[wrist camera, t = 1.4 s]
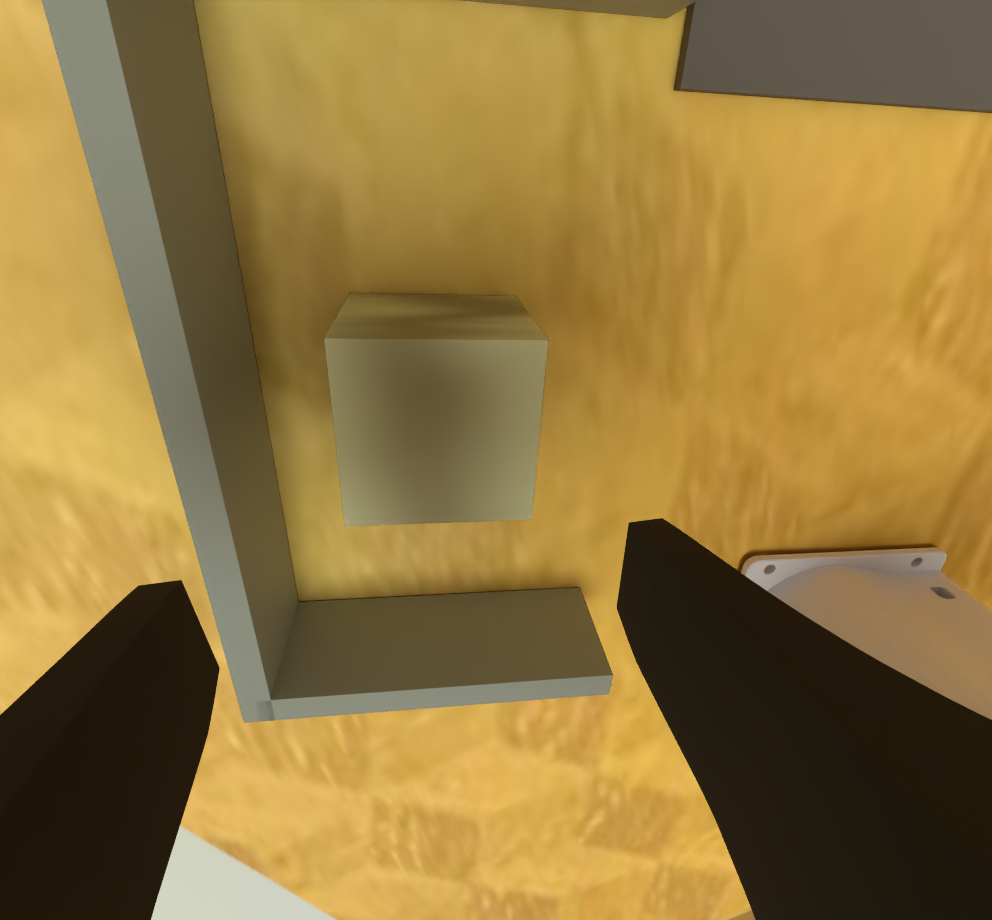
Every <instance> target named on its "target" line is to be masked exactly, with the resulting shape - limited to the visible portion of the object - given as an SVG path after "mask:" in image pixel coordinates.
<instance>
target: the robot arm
mask: <svg viewBox="0 0 992 920" xmlns="http://www.w3.org/2000/svg"><path fill="white" fill-rule="evenodd" d="M946 559H947V554H946V553H945V552H943V551H942V550H941V549H939V548H936V547H933V548H911V549H889V550H867V551H845V552H823V553H802V554H780V555H758V556H753V557H751V558H749V559H748V560H746V561H745V563H744V565H743V568H742V571H741V573H740V572H739V571H737V570H736V569H735V568H733V567H732V566H730V565H729V564H727V563H726V562H725V561H723V560H722V559H720V558H719V557H718V556H716V555H715V554H713V553H712V552H710V551H709V550H708V549H706V548H705V547H703V546H702V545H701V544H699V543H698V542H696V541H695V540H694V539H692V538H691V537H689V536H688V535H686V534H685V533H684V532H682V531H681V530H679V529H678V528H676V527H675V526H673V525H672V524H670V523H669V522H667V521H666V520H664V519H663V518H661V519H653V520H645V521H637V522H630V523H629V526H628V532H627V539H626V546H625V553H624V560H623V567H622V574H621V581H620V588H619V595H618V602H617V610H618V613H619V616H620V619H621V621H622V624H623V627H624V630H625V633H626V636H627V638H628V641H629V644H630V646H631V649H632V652H633V654H634V657H635V659H636V662H637V664H638V666H639V668H640V670H641V672H642V674H643V676H644V678H645V680H646V682H647V684H648V686H649V688H650V690H651V692H652V694H653V696H654V698H655V700H656V702H657V704H658V706H659V708H660V710H661V712H662V714H663V716H664V718H665V720H666V722H667V723H668V725H669V727H670V729H671V731H672V733H673V735H674V737H675V739H676V741H677V743H678V745H679V747H680V749H681V751H682V753H683V755H684V757H685V759H686V760H687V762H688V764H689V766H690V768H691V770H692V772H693V774H694V776H695V778H696V780H697V782H698V784H699V786H700V788H701V790H702V792H703V794H704V796H705V798H706V800H707V803H708V805H709V807H710V809H711V811H712V813H713V815H714V818H715V820H716V822H717V824H718V827H719V829H720V832H721V834H722V837H723V839H724V842H725V844H726V847H727V849H728V851H729V854H730V856H731V859H732V861H733V864H734V866H735V869H736V871H737V874H738V876H739V878H740V881H741V883H742V886H743V888H744V891H745V893H746V896H747V898H748V901H749V904H750V906H751V909H752V911H753V914H754V917H755V919H756V920H992V611H991V610H989V609H988V608H987V607H986V606H984V605H983V604H982V603H981V602H979V601H978V600H977V599H975V598H974V597H973V596H972V595H970V594H969V593H968V592H966V591H965V590H964V589H963V588H961V587H960V586H959V585H957V584H956V583H955V582H954V581H952V580H951V579H950V578H948V577H947V576H946V575H945V574H943V573H942V572H941V571H940V570H941V569H942V567H943V565H944V563H945V561H946ZM768 565H769V566H768ZM765 567H766V568H765ZM218 674H219V666H218V664H217V661H216V659H215V657H214V654H213V652H212V650H211V647H210V645H209V643H208V641H207V638H206V636H205V634H204V631H203V629H202V627H201V624H200V622H199V620H198V617H197V615H196V613H195V611H194V608H193V606H192V604H191V601H190V599H189V597H188V594H187V592H186V590H185V588H184V585H183V583H182V581H181V580H179V581H171V582H163V583H156V584H148V585H140V586H138V587H136V588H135V589H134V590H133V591H132V592H131V593H130V594H128V595H127V596H126V597H125V598H124V599H123V600H122V601H121V602H120V603H119V604H117V605H116V606H115V607H114V608H113V609H112V610H111V611H110V612H109V613H108V614H107V615H106V616H105V617H104V618H103V619H102V620H100V621H99V622H98V623H97V624H96V625H95V626H94V627H93V628H92V629H91V630H90V631H89V632H88V633H87V634H86V635H85V636H84V637H83V638H82V639H81V640H80V641H78V642H77V643H76V644H75V645H74V646H73V647H72V648H71V649H70V650H69V651H68V652H67V653H66V654H65V655H64V656H63V657H62V658H61V659H60V660H59V661H58V662H56V663H55V664H54V665H53V666H52V667H51V668H50V669H49V670H48V671H47V672H46V673H45V674H44V675H43V676H42V677H40V678H39V679H38V680H37V681H36V682H35V683H34V684H33V685H32V686H31V687H30V688H29V689H28V690H27V691H26V692H25V693H23V694H22V695H21V696H20V697H19V698H18V699H17V700H16V701H15V702H14V703H13V704H12V705H11V706H10V707H9V708H7V709H6V710H5V711H4V712H3V713H2V714H1V715H0V920H151V917H152V913H153V910H154V906H155V903H156V900H157V896H158V893H159V890H160V887H161V884H162V880H163V877H164V874H165V871H166V868H167V865H168V861H169V858H170V855H171V852H172V849H173V845H174V842H175V839H176V836H177V833H178V830H179V826H180V823H181V820H182V817H183V814H184V810H185V807H186V804H187V801H188V798H189V795H190V791H191V788H192V785H193V782H194V778H195V775H196V772H197V768H198V765H199V762H200V759H201V755H202V752H203V749H204V745H205V742H206V738H207V735H208V731H209V725H210V720H211V715H212V710H213V705H214V699H215V693H216V687H217V680H218Z"/></svg>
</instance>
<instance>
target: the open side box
mask: <svg viewBox="0 0 992 920" xmlns="http://www.w3.org/2000/svg"><path fill="white" fill-rule="evenodd" d="M466 1H478V2H489V3H500V4H512V5H523V6H534V7H545V8H557V9H568V10H579V11H590V12H602V13H613V14H624V15H635V16H647V17H658V18H669V17H670V16H672V15H674V14H675V13H677V12H679V11H680V10H682V9H684V8H685V7H687V6H689V5H690V4H692V3H694V2H695V1H697V0H466ZM42 3H43V6H44V10H45V13H46V17H47V21H48V24H49V28H50V31H51V35H52V38H53V42H54V46H55V49H56V53H57V56H58V60H59V64H60V67H61V71H62V74H63V78H64V81H65V85H66V89H67V92H68V96H69V99H70V103H71V106H72V110H73V114H74V117H75V121H76V124H77V128H78V131H79V135H80V139H81V142H82V146H83V149H84V153H85V156H86V160H87V164H88V167H89V171H90V174H91V178H92V181H93V185H94V189H95V192H96V196H97V199H98V203H99V207H100V210H101V214H102V217H103V221H104V224H105V228H106V232H107V235H108V239H109V242H110V246H111V249H112V253H113V257H114V260H115V264H116V267H117V271H118V274H119V278H120V282H121V285H122V289H123V292H124V296H125V299H126V303H127V307H128V310H129V314H130V317H131V321H132V324H133V328H134V332H135V335H136V339H137V342H138V346H139V350H140V353H141V357H142V360H143V364H144V367H145V371H146V375H147V378H148V382H149V385H150V389H151V392H152V396H153V400H154V403H155V407H156V410H157V414H158V417H159V421H160V425H161V428H162V432H163V435H164V439H165V442H166V446H167V450H168V453H169V457H170V460H171V464H172V467H173V471H174V475H175V478H176V482H177V485H178V489H179V492H180V496H181V500H182V503H183V507H184V510H185V514H186V518H187V521H188V525H189V528H190V532H191V535H192V539H193V543H194V546H195V550H196V553H197V557H198V560H199V564H200V568H201V571H202V575H203V578H204V582H205V585H206V589H207V593H208V596H209V600H210V603H211V607H212V610H213V614H214V618H215V621H216V625H217V628H218V632H219V635H220V639H221V643H222V646H223V650H224V653H225V657H226V661H227V664H228V668H229V671H230V675H231V678H232V682H233V686H234V689H235V693H236V696H237V700H238V703H239V707H240V711H241V714H242V718H243V721H244V723H246V722H259V721H272V720H284V719H297V718H310V717H323V716H336V715H348V714H361V713H374V712H387V711H400V710H412V709H425V708H438V707H451V706H464V705H477V704H489V703H502V702H515V701H528V700H541V699H553V698H566V697H579V696H592V695H605V694H609V692H610V687H611V682H612V678H613V674H612V671H611V668H610V666H609V663H608V660H607V658H606V655H605V652H604V650H603V647H602V644H601V642H600V639H599V636H598V634H597V631H596V628H595V626H594V623H593V620H592V618H591V615H590V612H589V610H588V607H587V604H586V602H585V599H584V597H583V594H582V591H581V589H580V587H578V588H559V589H539V590H520V591H501V592H481V593H462V594H442V595H423V596H404V597H384V598H365V599H345V600H326V601H307V602H299V601H298V596H297V590H296V584H295V579H294V573H293V567H292V562H291V556H290V550H289V545H288V539H287V533H286V527H285V522H284V516H283V510H282V505H281V499H280V493H279V488H278V482H277V476H276V470H275V465H274V459H273V453H272V448H271V442H270V436H269V431H268V425H267V419H266V413H265V408H264V402H263V396H262V391H261V385H260V379H259V374H258V368H257V362H256V356H255V351H254V345H253V339H252V334H251V328H250V322H249V317H248V311H247V305H246V300H245V294H244V288H243V282H242V277H241V271H240V265H239V260H238V254H237V248H236V243H235V237H234V231H233V225H232V220H231V214H230V208H229V203H228V197H227V191H226V186H225V180H224V174H223V168H222V163H221V157H220V151H219V146H218V140H217V134H216V129H215V123H214V117H213V112H212V106H211V100H210V94H209V89H208V83H207V77H206V72H205V66H204V60H203V55H202V49H201V43H200V37H199V32H198V26H197V20H196V15H195V9H194V3H193V0H42Z"/></svg>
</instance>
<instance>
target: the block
mask: <svg viewBox="0 0 992 920" xmlns="http://www.w3.org/2000/svg"><path fill="white" fill-rule="evenodd" d="M324 343H325V352H326V361H327V370H328V379H329V388H330V397H331V406H332V415H333V424H334V433H335V442H336V451H337V460H338V469H339V478H340V487H341V496H342V505H343V514H344V523H345V526H366V525H394V524H423V523H452V522H481V521H509V520H532V513H533V502H534V491H535V479H536V468H537V457H538V446H539V435H540V424H541V413H542V402H543V391H544V380H545V369H546V358H547V347H548V340H547V338H546V337H545V336H544V334H543V333H542V331H541V330H540V329H539V327H538V326H537V325H536V323H535V322H534V320H533V319H532V318H531V316H530V315H529V314H528V312H527V311H526V310H525V308H524V307H523V305H522V304H521V303H520V301H519V300H518V299H517V297H516V296H499V295H447V294H394V293H350V294H349V296H348V297H347V299H346V301H345V303H344V304H343V306H342V308H341V310H340V311H339V313H338V315H337V317H336V318H335V320H334V322H333V324H332V325H331V327H330V329H329V331H328V332H327V334H326V336H325V338H324Z"/></svg>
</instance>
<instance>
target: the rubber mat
mask: <svg viewBox="0 0 992 920" xmlns="http://www.w3.org/2000/svg"><path fill="white" fill-rule="evenodd" d="M674 90H675V91H689V92H703V93H717V94H731V95H746V96H760V97H774V98H788V99H802V100H816V101H830V102H844V103H858V104H872V105H886V106H901V107H915V108H929V109H943V110H957V111H971V112H985V113H992V0H697V1H695V2H694V3H692V4H690V5H689V6H688V10H687V16H686V22H685V28H684V34H683V40H682V46H681V52H680V58H679V64H678V70H677V76H676V82H675V88H674Z"/></svg>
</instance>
